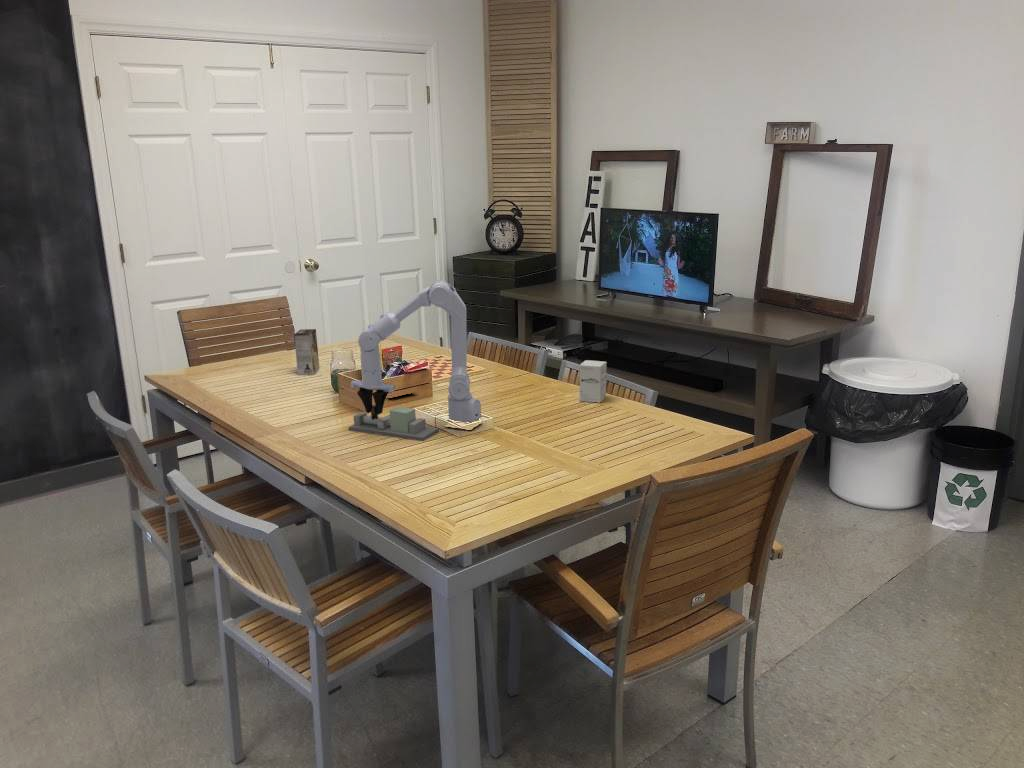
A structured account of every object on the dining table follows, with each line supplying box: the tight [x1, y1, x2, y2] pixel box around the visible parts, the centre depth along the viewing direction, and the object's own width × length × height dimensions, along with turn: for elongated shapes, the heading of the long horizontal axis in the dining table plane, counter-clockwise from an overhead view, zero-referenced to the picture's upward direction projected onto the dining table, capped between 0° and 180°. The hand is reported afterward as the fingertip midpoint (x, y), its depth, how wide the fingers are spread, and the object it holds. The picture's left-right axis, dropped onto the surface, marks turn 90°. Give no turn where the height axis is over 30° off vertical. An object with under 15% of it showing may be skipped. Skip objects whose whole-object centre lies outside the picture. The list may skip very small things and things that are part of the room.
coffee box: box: [293, 328, 320, 376], centre depth 312 cm, size 9×6×16 cm
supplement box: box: [578, 359, 608, 404], centre depth 270 cm, size 7×7×13 cm
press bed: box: [348, 411, 439, 442], centre depth 244 cm, size 26×9×4 cm, turn 65°
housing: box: [389, 406, 417, 433], centre depth 242 cm, size 6×4×6 cm
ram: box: [362, 404, 391, 429], centre depth 246 cm, size 9×6×6 cm, turn 65°
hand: (374, 412), depth 246 cm, fingers open, 3 cm apart
